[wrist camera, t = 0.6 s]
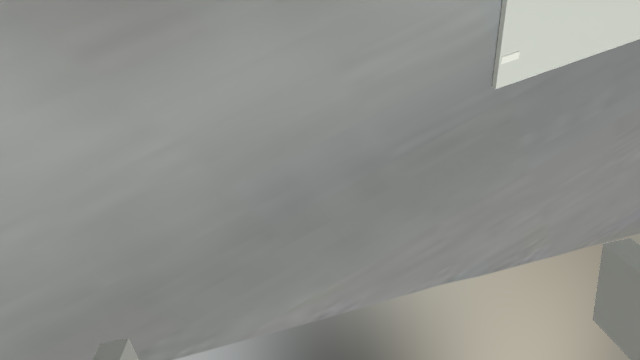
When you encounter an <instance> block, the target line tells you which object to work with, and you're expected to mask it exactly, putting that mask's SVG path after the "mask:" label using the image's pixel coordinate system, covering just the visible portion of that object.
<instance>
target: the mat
mask: <svg viewBox="0 0 640 360" xmlns="http://www.w3.org/2000/svg"><path fill="white" fill-rule="evenodd" d="M638 39H640V0H502V8H501V16H500V24H499V32H498V41H497V49H496V57H495V65H494V73H493V81H492V87H493V88H495V89H498V88H500V87H503V86H506V85H509V84H512V83H515V82H518V81H520V80H523V79H526V78H529V77H532V76H535V75H538V74H541V73H543V72H546V71H549V70H552V69H555V68H558V67H561V66H563V65H566V64H569V63H572V62H575V61H578V60H581V59H584V58H586V57H589V56H592V55H595V54H598V53H601V52H604V51H607V50H609V49H612V48H615V47H618V46H621V45H624V44H627V43H629V42H632V41H635V40H638Z"/></svg>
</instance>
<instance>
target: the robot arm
mask: <svg viewBox="0 0 640 360" xmlns="http://www.w3.org/2000/svg"><path fill="white" fill-rule="evenodd" d="M593 320H594V321H595V322H596V324H598V326H599V327H600V328H601V329H602V330H603V331H604V332H605V333H606V334H607V335H608V336H609V337H610V338H611V339H612V341H613V342H614V343H615V344H616V345H617V346H618V347H619V348H620V349H621V350H622V351H623V352H624V353H625V354H626V355H627V356H628V358H630V359H631V360H640V245H639V244H637V243H636V242H635V241H633V240H632V239H625V240H620V241H615V242H610V243H605V244H603V248H602V256H601V263H600V271H599V278H598V285H597V293H596V300H595V307H594V315H593ZM93 360H139V359H138V357H137V355H136V353H135V351H134V349H133V347H132V345H131V343H130V341H129V339H123V340H118V341H113V342H108V343H103V344H100V346H99V348H98V350H97V352H96V354H95V356H94V358H93Z"/></svg>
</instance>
